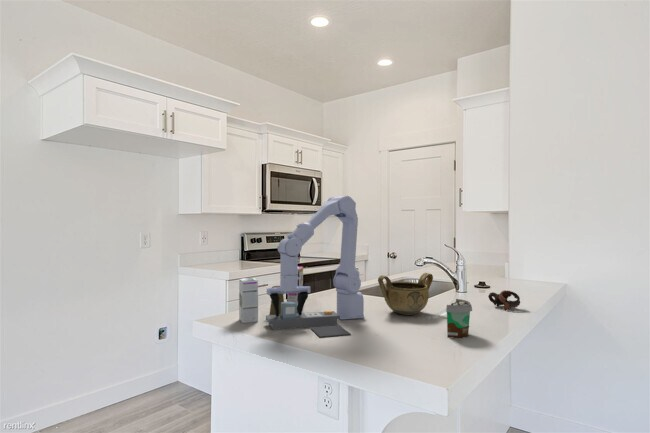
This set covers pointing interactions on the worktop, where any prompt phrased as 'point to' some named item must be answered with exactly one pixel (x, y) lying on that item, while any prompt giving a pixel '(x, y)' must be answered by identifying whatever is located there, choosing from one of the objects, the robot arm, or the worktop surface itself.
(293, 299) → the candy bar box
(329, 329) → the mat
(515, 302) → the dark brown looped piece
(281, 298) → the tan rounded upright piece
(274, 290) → the robot arm
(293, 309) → the block
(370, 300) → the worktop surface
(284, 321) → the power strip
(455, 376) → the worktop surface
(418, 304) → the ceramic bowl
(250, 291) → the syrup box
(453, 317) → the food container
